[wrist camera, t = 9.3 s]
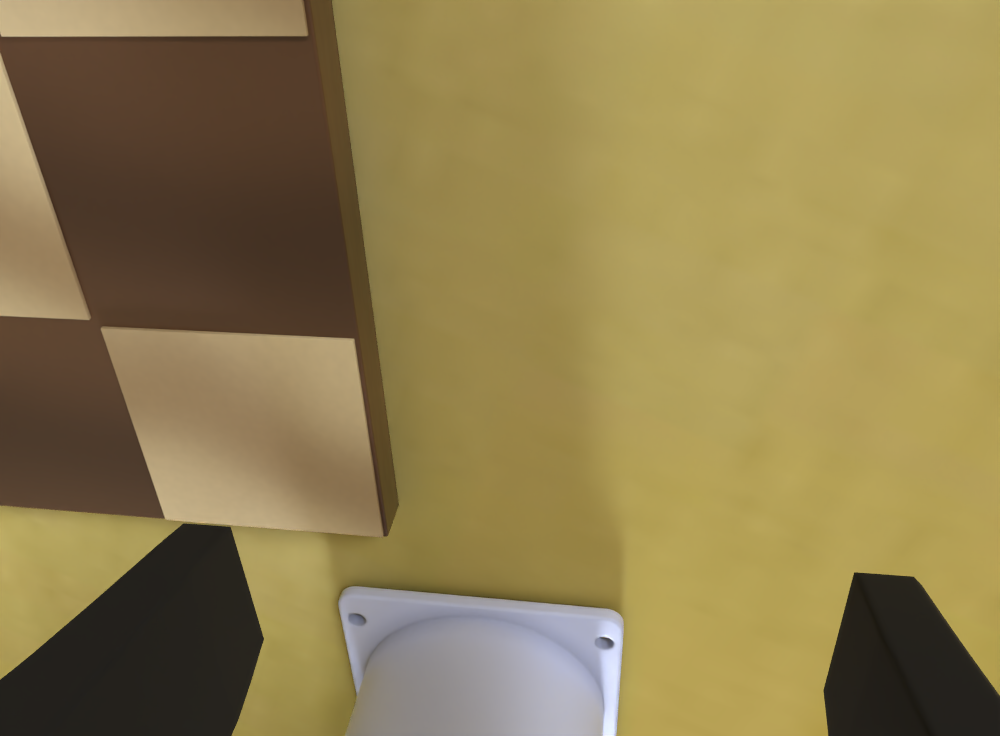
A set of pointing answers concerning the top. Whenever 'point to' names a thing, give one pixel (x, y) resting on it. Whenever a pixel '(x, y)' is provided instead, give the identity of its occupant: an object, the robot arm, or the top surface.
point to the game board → (185, 269)
